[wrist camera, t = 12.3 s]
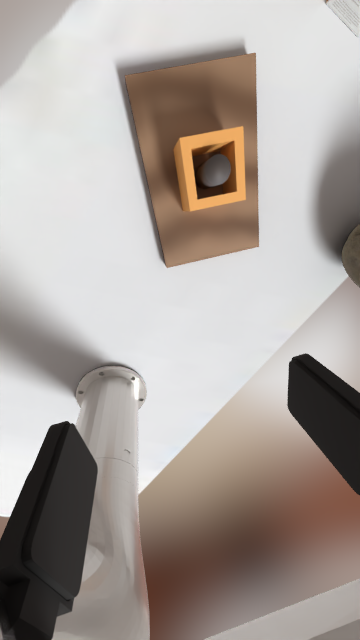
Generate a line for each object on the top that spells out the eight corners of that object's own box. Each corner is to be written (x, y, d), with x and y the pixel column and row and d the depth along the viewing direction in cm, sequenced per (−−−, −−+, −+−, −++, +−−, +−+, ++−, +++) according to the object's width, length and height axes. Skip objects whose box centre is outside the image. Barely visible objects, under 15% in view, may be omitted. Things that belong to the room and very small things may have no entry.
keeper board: (254, 245, 34) (280, 252, 28) (165, 265, 33) (172, 278, 27) (249, 61, 24) (286, 10, 18) (125, 83, 24) (121, 37, 17)
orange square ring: (231, 201, 29) (245, 199, 25) (182, 211, 29) (190, 211, 25) (227, 138, 26) (243, 125, 22) (173, 149, 26) (179, 137, 22)
